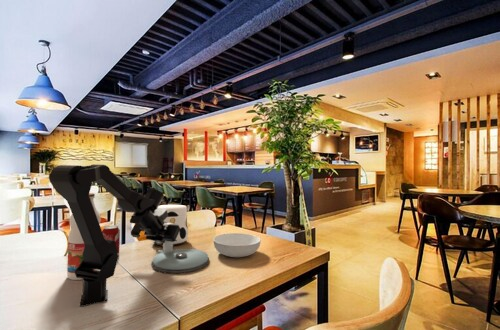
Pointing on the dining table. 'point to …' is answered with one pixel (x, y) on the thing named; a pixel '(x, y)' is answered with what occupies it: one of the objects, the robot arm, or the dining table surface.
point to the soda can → (112, 234)
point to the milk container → (176, 221)
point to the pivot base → (179, 255)
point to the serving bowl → (236, 244)
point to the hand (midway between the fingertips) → (163, 242)
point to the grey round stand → (170, 262)
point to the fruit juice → (77, 245)
